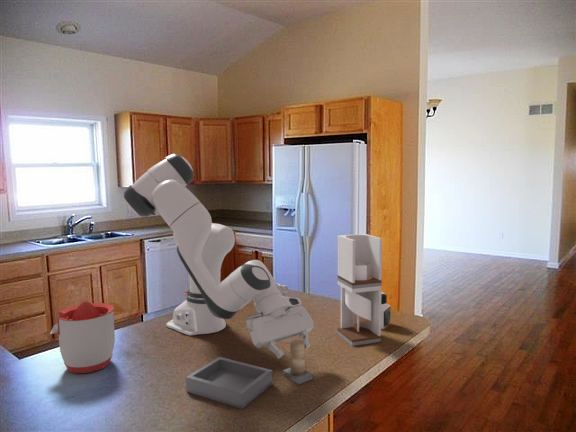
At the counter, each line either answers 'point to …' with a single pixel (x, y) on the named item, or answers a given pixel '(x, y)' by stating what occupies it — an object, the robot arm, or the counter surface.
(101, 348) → the citrus juicer
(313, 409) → the counter surface
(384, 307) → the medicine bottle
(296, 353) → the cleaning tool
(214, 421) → the counter surface
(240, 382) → the tray
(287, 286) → the teacup
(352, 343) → the white miniature tower model
